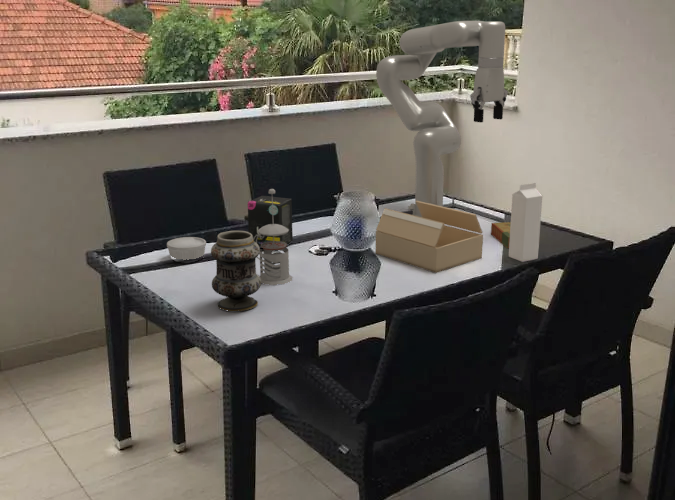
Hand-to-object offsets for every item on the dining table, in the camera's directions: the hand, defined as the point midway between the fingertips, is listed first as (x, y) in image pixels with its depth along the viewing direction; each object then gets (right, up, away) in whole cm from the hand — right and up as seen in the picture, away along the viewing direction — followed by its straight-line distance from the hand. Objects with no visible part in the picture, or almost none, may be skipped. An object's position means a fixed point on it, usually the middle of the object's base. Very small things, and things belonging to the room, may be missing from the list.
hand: (488, 120), depth 234 cm
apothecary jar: (-71, -54, -48) cm, 101 cm away
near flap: (-26, -34, -19) cm, 47 cm away
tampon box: (-67, -39, 0) cm, 78 cm away
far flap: (-14, -30, -9) cm, 35 cm away
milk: (+7, -43, -14) cm, 45 cm away
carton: (+8, -38, +3) cm, 39 cm away
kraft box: (-20, -42, -11) cm, 48 cm away
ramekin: (-91, -43, -12) cm, 101 cm away
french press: (-64, -48, -29) cm, 85 cm away
